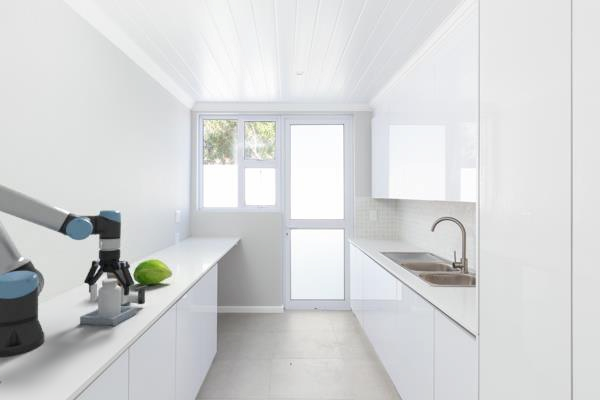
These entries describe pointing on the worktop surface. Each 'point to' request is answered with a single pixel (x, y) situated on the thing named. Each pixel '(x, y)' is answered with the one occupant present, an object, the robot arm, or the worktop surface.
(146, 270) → the lettuce
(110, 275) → the coffee cup
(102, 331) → the worktop surface
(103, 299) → the pill bottle
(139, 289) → the crank
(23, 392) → the worktop surface
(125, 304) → the crank base
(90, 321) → the tray
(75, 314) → the worktop surface
